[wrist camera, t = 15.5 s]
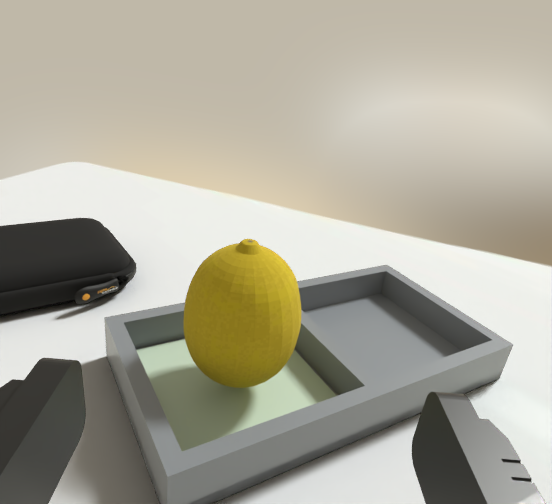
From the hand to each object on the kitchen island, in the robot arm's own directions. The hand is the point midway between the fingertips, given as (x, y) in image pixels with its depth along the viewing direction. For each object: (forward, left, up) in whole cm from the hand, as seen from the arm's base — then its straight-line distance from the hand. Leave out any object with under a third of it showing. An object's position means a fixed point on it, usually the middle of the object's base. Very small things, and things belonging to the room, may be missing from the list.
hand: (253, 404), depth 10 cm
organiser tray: (-9, -9, -9) cm, 16 cm away
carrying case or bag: (+5, -24, -10) cm, 26 cm away
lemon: (-5, -9, -8) cm, 13 cm away
